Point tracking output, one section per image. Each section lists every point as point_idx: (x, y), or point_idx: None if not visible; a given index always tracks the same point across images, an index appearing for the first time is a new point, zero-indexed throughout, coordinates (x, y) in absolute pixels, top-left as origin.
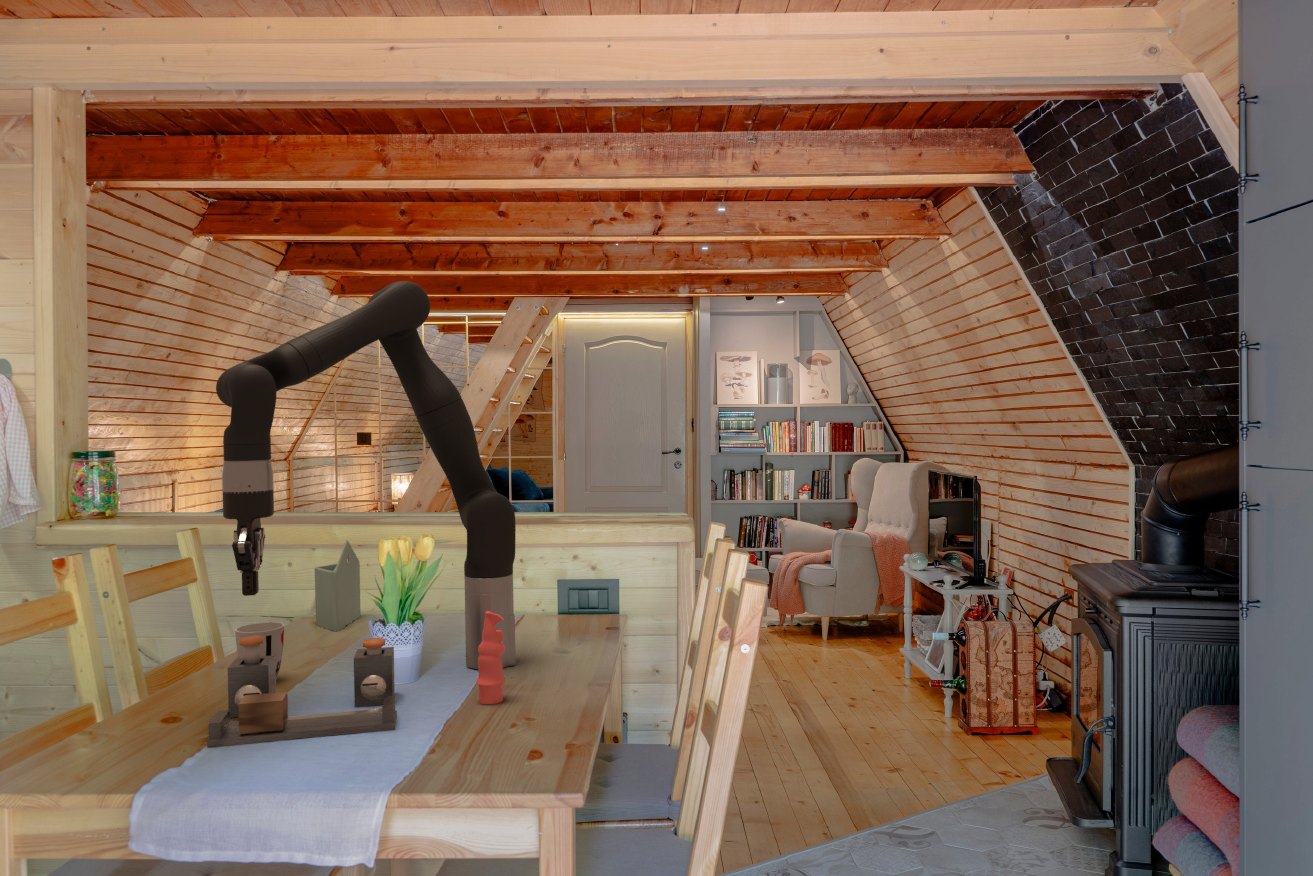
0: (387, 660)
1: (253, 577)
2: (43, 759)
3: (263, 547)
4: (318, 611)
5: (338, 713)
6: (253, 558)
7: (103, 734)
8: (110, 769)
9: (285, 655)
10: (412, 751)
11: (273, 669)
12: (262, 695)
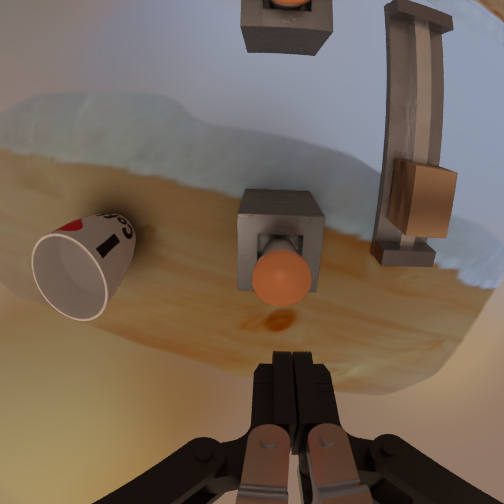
0: None
1: (324, 411)
2: (365, 388)
3: (111, 496)
4: None
5: (423, 84)
6: (416, 479)
7: None
8: (429, 330)
9: (4, 227)
10: (498, 30)
11: (264, 207)
12: (419, 206)
